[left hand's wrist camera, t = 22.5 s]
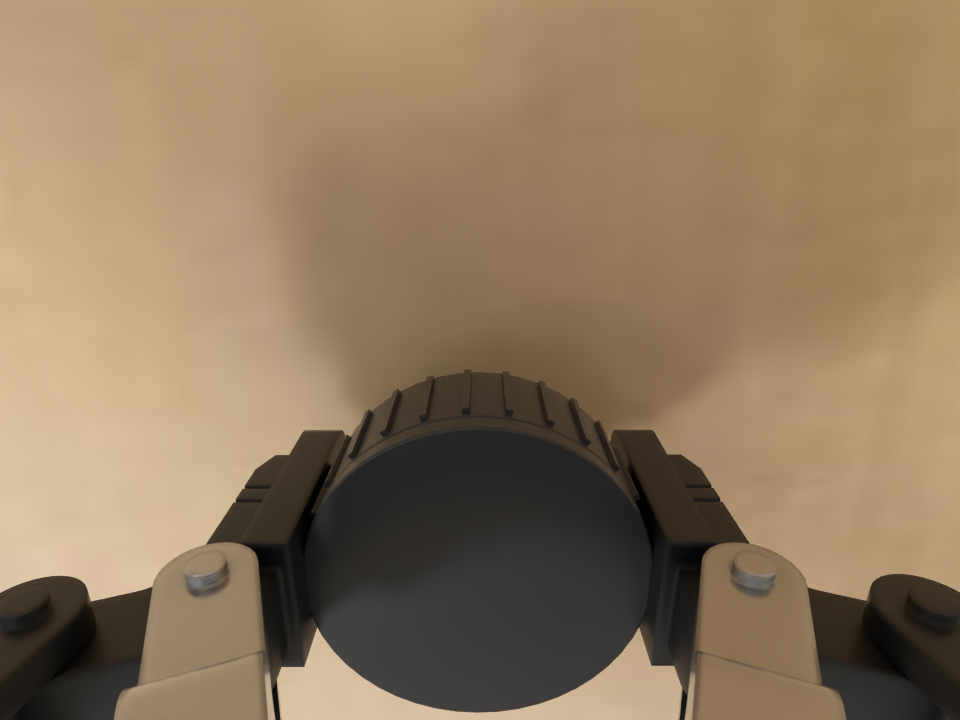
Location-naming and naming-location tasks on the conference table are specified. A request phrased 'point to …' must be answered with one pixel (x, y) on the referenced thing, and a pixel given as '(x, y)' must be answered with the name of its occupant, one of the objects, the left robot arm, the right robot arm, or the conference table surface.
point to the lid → (478, 546)
